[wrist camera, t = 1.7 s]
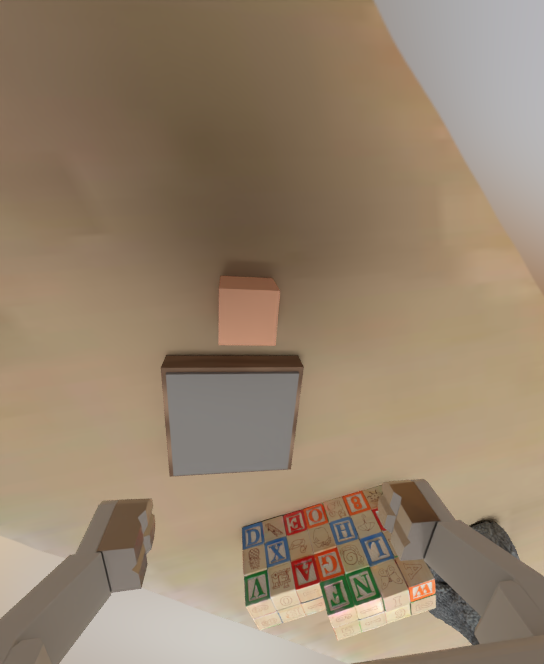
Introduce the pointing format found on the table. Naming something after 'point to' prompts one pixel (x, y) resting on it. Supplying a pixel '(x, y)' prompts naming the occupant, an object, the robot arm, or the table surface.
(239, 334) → the terracotta cube
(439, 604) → the koala plush
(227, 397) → the walnut framed mirror
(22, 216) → the table surface
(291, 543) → the stack of blocks
